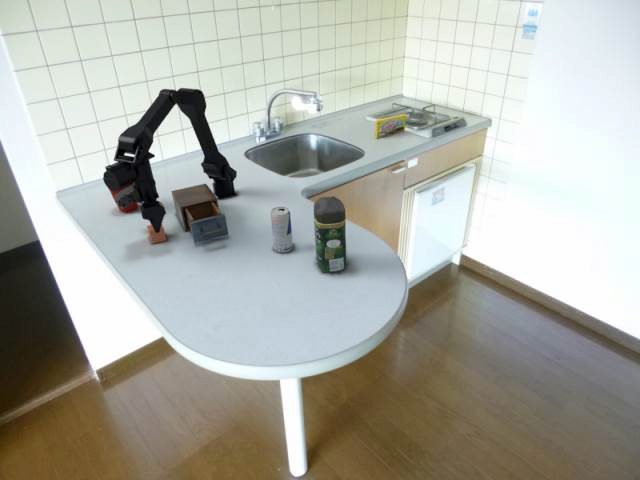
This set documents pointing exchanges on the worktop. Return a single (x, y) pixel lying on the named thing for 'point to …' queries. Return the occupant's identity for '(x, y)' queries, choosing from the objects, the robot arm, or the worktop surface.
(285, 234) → the energy drink
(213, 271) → the worktop surface
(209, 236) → the drawer
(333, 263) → the coffee jar
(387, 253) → the worktop surface
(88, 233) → the worktop surface
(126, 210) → the plastic cup
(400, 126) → the candy box
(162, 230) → the block
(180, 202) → the cabinet
